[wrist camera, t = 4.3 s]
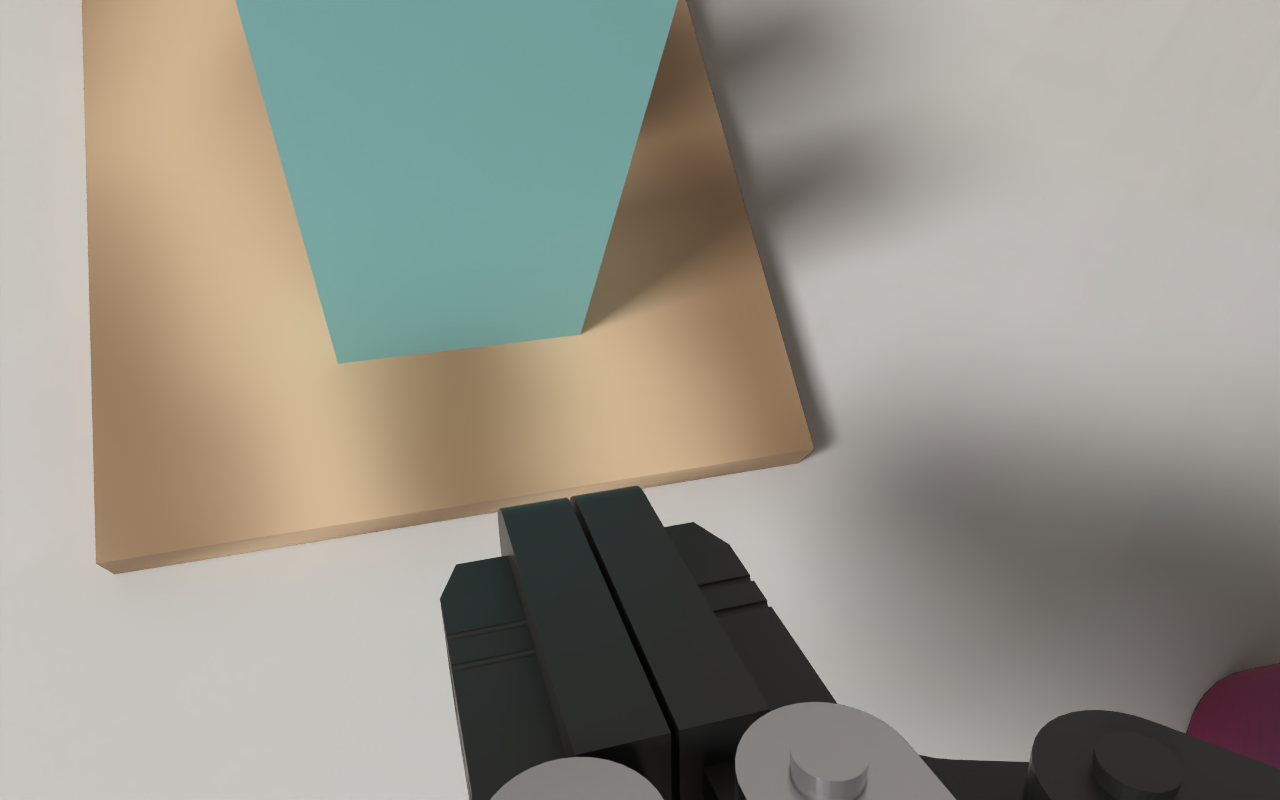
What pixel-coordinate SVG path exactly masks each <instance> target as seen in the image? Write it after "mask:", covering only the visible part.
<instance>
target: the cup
mask: <svg viewBox="0 0 1280 800" xmlns="http://www.w3.org/2000/svg"><path fill="white" fill-rule="evenodd" d="M1187 735H1190V736H1193V737H1195V738H1198V739H1201V740H1203V741H1206V742H1209V743H1211V744H1214V745H1217V746H1219V747H1222V748H1225V749H1227V750H1230V751H1233V752H1235V753H1238V754H1241V755H1243V756H1246V757H1249V758H1251V759H1254V760H1257V761H1259V762H1262V763H1265V764H1267V765H1270V766H1273V767H1276V768H1278V769H1280V663H1278V664H1273V665H1268V666H1263V667H1259V668H1254V669H1250V670H1245V671H1241V672H1237V673H1234V674H1232V675H1230V676H1228V677H1226V678H1224V679H1223V680H1221V681H1219V682H1217V683H1216V684H1215V685H1214V686H1213V687H1212V688H1211V689H1210V690H1209V691H1208V692H1207V693H1206V694H1205V695H1204V697H1203V698H1202V700H1201V701H1200V703H1199V705H1198V706H1197V708H1196V709H1195V711H1194V713H1193V716H1192V719H1191V722H1190V725H1189V728H1188V730H1187Z"/></svg>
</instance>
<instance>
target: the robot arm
mask: <svg viewBox="0 0 1280 800" xmlns="http://www.w3.org/2000/svg"><path fill="white" fill-rule="evenodd" d="M498 522H499V534H500V544H501V554H502V557H496V558H491V559H485V560H480V561H474V562H468V563H463V564H457V565H456V566H455V568H454V570H453V572H452V575H451V577H450V579H449V581H448V583H447V585H446V587H445V589H444V591H443V594H442V596H441V598H440V602H441V609H442V617H443V624H444V631H445V639H446V646H447V653H448V661H449V668H450V675H451V683H452V690H453V697H454V705H455V712H456V719H457V725H458V732H459V738H460V744H461V750H462V756H463V763H464V769H465V776H466V782H467V788H468V794H469V800H1280V769H1278V768H1276V767H1273V766H1270V765H1267V764H1265V763H1262V762H1259V761H1257V760H1254V759H1251V758H1249V757H1246V756H1243V755H1241V754H1238V753H1235V752H1233V751H1230V750H1227V749H1225V748H1222V747H1219V746H1217V745H1214V744H1211V743H1209V742H1206V741H1203V740H1201V739H1198V738H1195V737H1193V736H1190V735H1187V734H1185V733H1182V732H1179V731H1177V730H1174V729H1171V728H1169V727H1166V726H1163V725H1161V724H1158V723H1155V722H1152V721H1150V720H1146V719H1143V718H1140V717H1137V716H1134V715H1129V714H1125V713H1120V712H1113V711H1104V710H1085V711H1078V712H1072V713H1068V714H1065V715H1062V716H1059V717H1057V718H1055V719H1054V720H1052V721H1050V722H1048V723H1047V724H1046V725H1045V726H1044V727H1043V728H1042V729H1041V730H1040V731H1039V733H1038V735H1037V736H1036V738H1035V741H1034V744H1033V748H1032V752H1031V757H1030V762H1006V761H976V760H950V759H939V758H932V757H927V756H922V755H918V754H917V753H916V752H915V750H914V749H913V748H912V747H911V746H910V745H909V743H908V742H907V741H906V740H905V739H904V738H903V737H902V736H901V735H900V734H899V733H898V732H897V731H895V730H894V729H893V728H892V727H890V726H889V725H888V724H886V723H885V722H883V721H881V720H880V719H878V718H876V717H874V716H873V715H870V714H868V713H866V712H863V711H861V710H858V709H855V708H852V707H848V706H845V705H840V704H837V703H836V701H835V700H834V698H833V697H832V695H831V694H830V692H829V691H828V689H827V688H826V686H825V685H824V683H823V682H822V681H821V679H820V678H819V676H818V675H817V673H816V672H815V670H814V669H813V667H812V666H811V664H810V663H809V661H808V660H807V658H806V657H805V655H804V654H803V653H802V651H801V650H800V648H799V647H798V645H797V644H796V642H795V641H794V639H793V638H792V636H791V635H790V633H789V632H788V630H787V629H786V628H785V626H784V625H783V623H782V622H781V620H780V619H779V617H778V616H777V614H776V613H775V611H774V610H773V608H772V607H768V605H767V600H766V598H765V597H764V595H763V594H762V592H761V591H760V589H759V588H758V586H757V585H756V583H755V582H754V581H751V580H750V575H749V573H748V572H747V570H746V569H745V567H744V566H743V564H742V563H741V561H740V560H739V558H738V557H737V555H736V554H735V552H734V551H733V549H732V548H731V547H730V545H729V544H727V543H726V542H724V541H723V540H721V539H719V538H718V537H716V536H715V535H713V534H712V533H710V532H708V531H707V530H705V529H704V528H702V527H700V526H699V525H697V524H696V523H694V522H691V523H685V524H680V525H674V526H669V527H664V526H663V525H662V523H661V521H660V519H659V518H658V516H657V514H656V513H655V511H654V509H653V507H652V506H651V504H650V502H649V501H648V499H647V497H646V495H645V494H644V492H643V491H642V489H641V488H640V487H639V486H637V485H636V486H630V487H624V488H618V489H612V490H606V491H600V492H594V493H588V494H582V495H576V496H572V497H571V498H570V501H569V499H568V498H566V497H565V498H559V499H553V500H547V501H541V502H535V503H529V504H523V505H517V506H511V507H505V508H499V510H498Z"/></svg>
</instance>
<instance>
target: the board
mask: <svg viewBox="0 0 1280 800" xmlns="http://www.w3.org/2000/svg"><path fill="white" fill-rule="evenodd" d="M82 24H83V64H84V103H85V143H86V182H87V222H88V262H89V301H90V341H91V380H92V420H93V459H94V499H95V538H96V564H98V565H100V566H101V567H103V568H105V569H107V570H108V571H110V572H112V573H113V574H118V573H124V572H131V571H137V570H143V569H149V568H155V567H161V566H167V565H174V564H180V563H186V562H192V561H198V560H204V559H211V558H217V557H223V556H229V555H235V554H241V553H247V552H254V551H260V550H266V549H272V548H278V547H284V546H290V545H297V544H303V543H309V542H315V541H321V540H327V539H333V538H340V537H346V536H352V535H358V534H364V533H370V532H377V531H383V530H389V529H395V528H401V527H407V526H413V525H420V524H426V523H432V522H438V521H444V520H450V519H456V518H463V517H469V516H475V515H481V514H487V513H493V512H498V510H499V508H505V507H511V506H517V505H523V504H529V503H535V502H541V501H547V500H553V499H559V498H565V497H566V498H568V499H569V500H570V498H571V497H572V496H576V495H582V494H588V493H594V492H600V491H606V490H612V489H618V488H624V487H630V486H636V485H637V486H639V487H640V488H647V487H653V486H659V485H666V484H672V483H678V482H684V481H690V480H696V479H702V478H709V477H715V476H721V475H727V474H733V473H739V472H745V471H752V470H758V469H764V468H770V467H776V466H782V465H789V464H795V463H799V462H800V461H801V460H802V459H803V458H805V457H806V456H807V455H808V454H809V453H810V452H811V451H812V450H814V447H813V443H812V440H811V436H810V433H809V429H808V426H807V422H806V419H805V415H804V412H803V408H802V405H801V401H800V398H799V394H798V391H797V387H796V384H795V380H794V377H793V373H792V370H791V366H790V363H789V359H788V356H787V352H786V349H785V345H784V342H783V338H782V335H781V331H780V327H779V324H778V320H777V317H776V313H775V310H774V306H773V303H772V299H771V296H770V292H769V289H768V285H767V282H766V278H765V275H764V271H763V268H762V264H761V261H760V257H759V254H758V250H757V247H756V243H755V240H754V236H753V233H752V229H751V226H750V222H749V219H748V215H747V212H746V208H745V205H744V201H743V198H742V194H741V191H740V187H739V184H738V180H737V177H736V173H735V170H734V166H733V163H732V159H731V156H730V152H729V149H728V145H727V142H726V138H725V135H724V131H723V128H722V124H721V121H720V117H719V114H718V110H717V107H716V103H715V100H714V96H713V93H712V89H711V86H710V82H709V79H708V75H707V72H706V68H705V65H704V61H703V58H702V54H701V51H700V47H699V44H698V40H697V37H696V33H695V30H694V26H693V23H692V19H691V16H690V12H689V9H688V5H687V2H686V0H678V2H677V6H676V9H675V13H674V16H673V19H672V23H671V26H670V30H669V33H668V37H667V40H666V43H665V47H664V50H663V54H662V57H661V60H660V64H659V67H658V71H657V74H656V78H655V81H654V84H653V88H652V91H651V95H650V98H649V102H648V105H647V108H646V112H645V115H644V119H643V122H642V125H641V129H640V132H639V136H638V139H637V143H636V146H635V149H634V153H633V156H632V160H631V163H630V167H629V170H628V173H627V177H626V180H625V184H624V187H623V191H622V194H621V197H620V201H619V204H618V208H617V211H616V214H615V218H614V221H613V225H612V228H611V232H610V235H609V238H608V242H607V245H606V249H605V252H604V256H603V259H602V262H601V266H600V269H599V273H598V276H597V279H596V283H595V286H594V290H593V293H592V297H591V300H590V303H589V307H588V310H587V314H586V317H585V321H584V324H583V327H582V331H581V334H580V335H574V336H566V337H558V338H549V339H541V340H533V341H524V342H516V343H508V344H499V345H491V346H483V347H474V348H466V349H457V350H449V351H441V352H432V353H424V354H416V355H407V356H399V357H391V358H382V359H374V360H366V361H357V362H349V363H340V364H338V362H337V359H336V355H335V352H334V348H333V344H332V341H331V337H330V334H329V330H328V327H327V323H326V320H325V316H324V313H323V309H322V306H321V302H320V298H319V295H318V291H317V288H316V284H315V281H314V277H313V274H312V270H311V267H310V263H309V259H308V256H307V252H306V249H305V245H304V242H303V238H302V235H301V231H300V228H299V224H298V221H297V217H296V213H295V210H294V206H293V203H292V199H291V196H290V192H289V189H288V185H287V182H286V178H285V175H284V171H283V167H282V164H281V160H280V157H279V153H278V150H277V146H276V143H275V139H274V136H273V132H272V129H271V125H270V121H269V118H268V114H267V111H266V107H265V104H264V100H263V97H262V93H261V90H260V86H259V82H258V79H257V75H256V72H255V68H254V65H253V61H252V58H251V54H250V51H249V47H248V44H247V40H246V36H245V33H244V29H243V26H242V22H241V19H240V15H239V12H238V8H237V5H236V1H235V0H82Z"/></svg>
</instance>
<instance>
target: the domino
mask: <svg viewBox="0 0 1280 800" xmlns="http://www.w3.org/2000/svg"><path fill="white" fill-rule="evenodd" d="M235 1H236V5H237V8H238V12H239V15H240V19H241V22H242V26H243V29H244V33H245V36H246V40H247V44H248V47H249V51H250V54H251V58H252V61H253V65H254V68H255V72H256V75H257V79H258V82H259V86H260V90H261V93H262V97H263V100H264V104H265V107H266V111H267V114H268V118H269V121H270V125H271V129H272V132H273V136H274V139H275V143H276V146H277V150H278V153H279V157H280V160H281V164H282V167H283V171H284V175H285V178H286V182H287V185H288V189H289V192H290V196H291V199H292V203H293V206H294V210H295V213H296V217H297V221H298V224H299V228H300V231H301V235H302V238H303V242H304V245H305V249H306V252H307V256H308V259H309V263H310V267H311V270H312V274H313V277H314V281H315V284H316V288H317V291H318V295H319V298H320V302H321V306H322V309H323V313H324V316H325V320H326V323H327V327H328V330H329V334H330V337H331V341H332V344H333V348H334V352H335V355H336V359H337V362H338V364H340V363H349V362H357V361H366V360H374V359H382V358H391V357H399V356H407V355H416V354H424V353H432V352H441V351H449V350H457V349H466V348H474V347H483V346H491V345H499V344H508V343H516V342H524V341H533V340H541V339H549V338H558V337H566V336H574V335H580V334H581V331H582V327H583V324H584V321H585V317H586V314H587V310H588V307H589V303H590V300H591V297H592V293H593V290H594V286H595V283H596V279H597V276H598V273H599V269H600V266H601V262H602V259H603V256H604V252H605V249H606V245H607V242H608V238H609V235H610V232H611V228H612V225H613V221H614V218H615V214H616V211H617V208H618V204H619V201H620V197H621V194H622V191H623V187H624V184H625V180H626V177H627V173H628V170H629V167H630V163H631V160H632V156H633V153H634V149H635V146H636V143H637V139H638V136H639V132H640V129H641V125H642V122H643V119H644V115H645V112H646V108H647V105H648V102H649V98H650V95H651V91H652V88H653V84H654V81H655V78H656V74H657V71H658V67H659V64H660V60H661V57H662V54H663V50H664V47H665V43H666V40H667V37H668V33H669V30H670V26H671V23H672V19H673V16H674V13H675V9H676V6H677V2H678V0H235Z"/></svg>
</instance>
